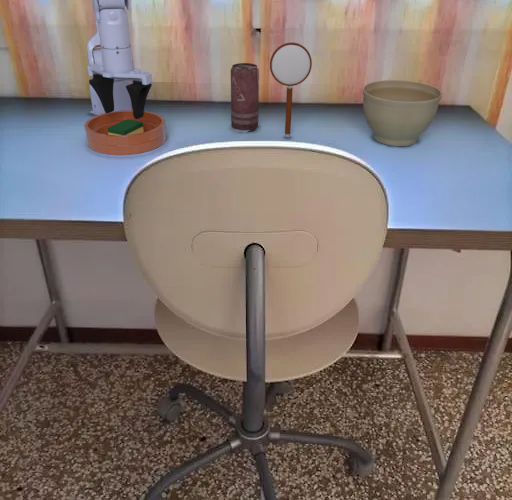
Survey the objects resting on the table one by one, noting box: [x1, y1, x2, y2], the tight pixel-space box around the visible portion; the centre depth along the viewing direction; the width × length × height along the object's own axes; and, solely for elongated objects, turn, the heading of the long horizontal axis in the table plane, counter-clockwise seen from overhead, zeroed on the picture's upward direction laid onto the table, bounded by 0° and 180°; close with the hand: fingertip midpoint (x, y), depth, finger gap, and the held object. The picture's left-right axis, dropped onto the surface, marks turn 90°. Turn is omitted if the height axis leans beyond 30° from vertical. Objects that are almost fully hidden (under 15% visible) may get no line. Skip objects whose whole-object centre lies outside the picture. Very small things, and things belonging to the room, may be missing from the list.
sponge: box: [108, 119, 144, 135], centre depth 114 cm, size 6×4×3 cm, turn 153°
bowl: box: [83, 110, 167, 156], centre depth 114 cm, size 16×16×4 cm
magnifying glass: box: [269, 42, 313, 139], centre depth 114 cm, size 9×2×20 cm, turn 92°
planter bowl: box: [362, 79, 443, 147], centre depth 116 cm, size 16×16×11 cm
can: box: [230, 62, 260, 133], centre depth 120 cm, size 6×6×14 cm
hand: (124, 114), depth 112 cm, fingers open, 7 cm apart
